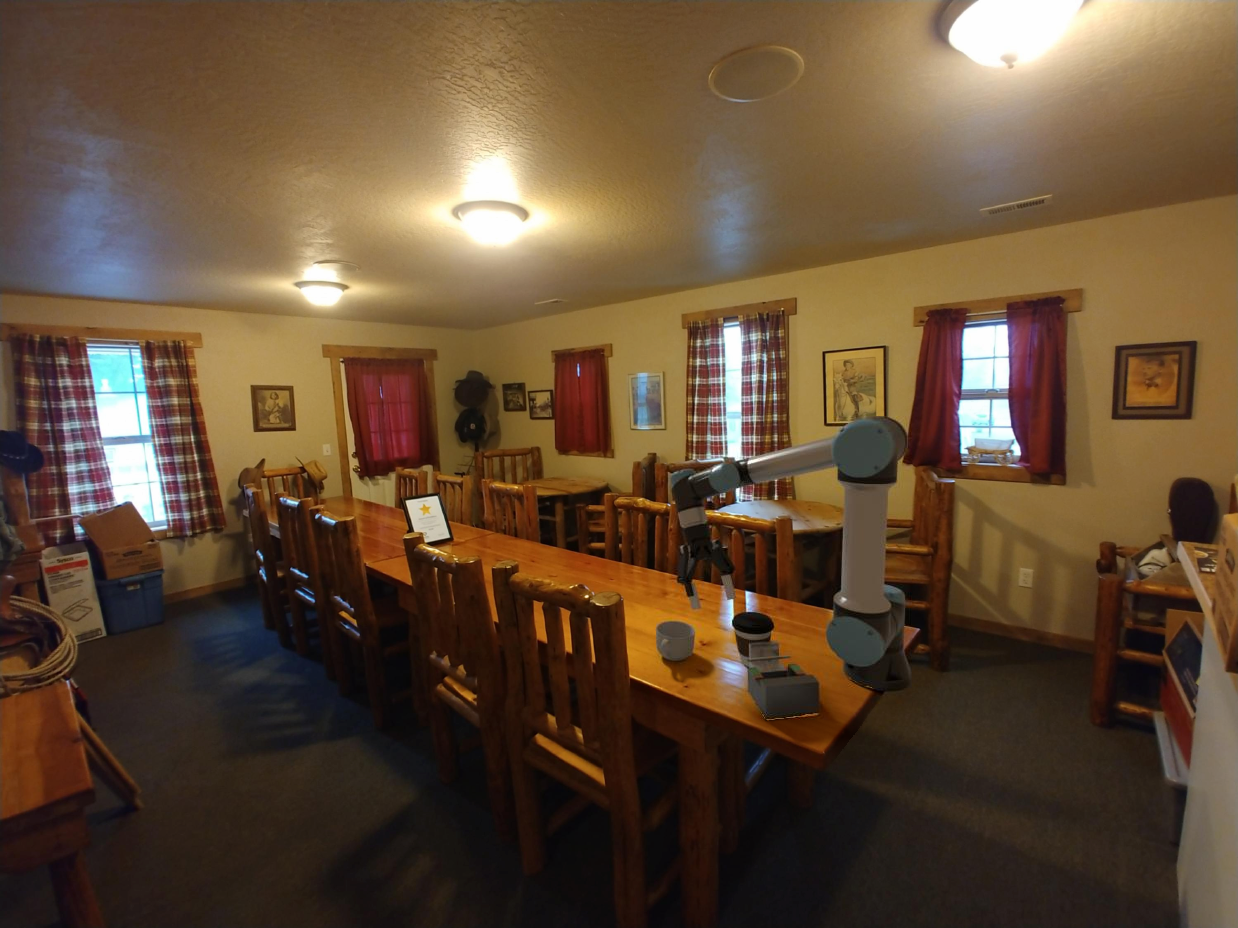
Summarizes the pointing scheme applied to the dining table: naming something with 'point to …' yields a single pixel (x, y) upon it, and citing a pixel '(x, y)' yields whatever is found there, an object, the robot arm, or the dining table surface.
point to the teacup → (675, 640)
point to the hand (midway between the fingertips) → (714, 604)
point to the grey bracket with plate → (767, 659)
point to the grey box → (784, 693)
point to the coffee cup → (751, 631)
